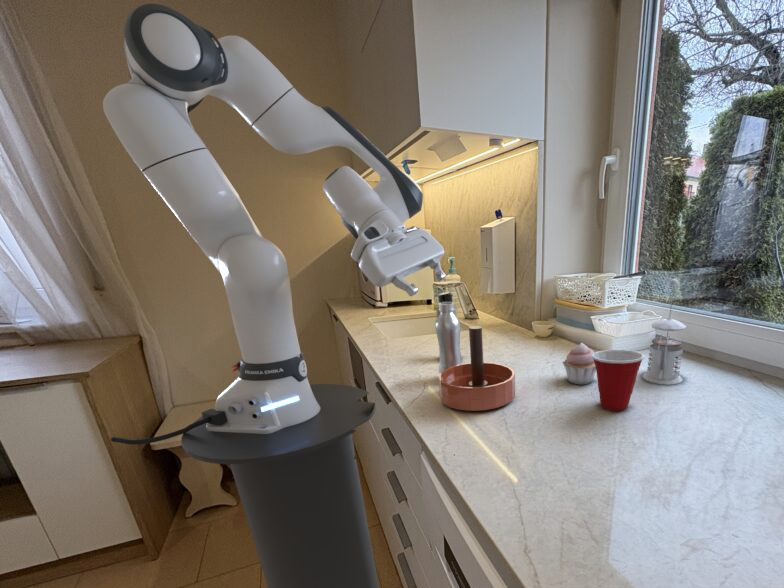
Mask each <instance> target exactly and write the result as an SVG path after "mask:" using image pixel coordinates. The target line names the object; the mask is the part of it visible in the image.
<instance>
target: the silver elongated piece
mask: <svg viewBox="0 0 784 588" xmlns="http://www.w3.org/2000/svg"><path fill="white" fill-rule="evenodd" d="M454 308H455V304H454V302H453V301H452V302H442V303H439V302H438V309H439V311H440V315H439V316H438V318H437V317H436V319H435V322H434V330H435V335H436V337H437V343H438V350H439V362H438V363H439V364H438V373H439V374H440V373H441V372H442V371H443V370H445V369H447V368H449V367H452V366H456V365H460V364H464V363H463V361H462V359H463V358H462V353H461V327H462V324H461V320H460V319H459V317H458V316H456V315H455V314H454V312H453V311H454V310H455V309H456V308H455V309H454ZM439 374H438V375H439Z"/></svg>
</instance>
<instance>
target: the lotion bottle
mask: <svg viewBox="0 0 784 588" xmlns="http://www.w3.org/2000/svg"><path fill="white" fill-rule="evenodd" d="M442 302H453V294H452V292H451V291H445V292H443V291H442V292H440V293H438V304H439V303H442ZM454 309H455V310H454V311H453V312H454V314H455V315H456V316H457V315H458V314H457V308H455V307H454ZM439 315H440V311H439V308H437V309H436V319H437V318H438V316H439ZM457 317H458V316H457Z"/></svg>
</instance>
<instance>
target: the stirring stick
mask: <svg viewBox="0 0 784 588" xmlns="http://www.w3.org/2000/svg"><path fill="white" fill-rule="evenodd" d="M468 335H469V336H468V337H469V350H470V351H469V353H470V363H471V373H472V381H470V382H469V387H484V386H488V382H487V381H485V380H484V366H483V362H484V347H483V345H484V344H483V343H484V342H483V327H482V326H480V325H472V326H469V327H468Z"/></svg>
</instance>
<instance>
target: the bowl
mask: <svg viewBox="0 0 784 588" xmlns="http://www.w3.org/2000/svg"><path fill="white" fill-rule="evenodd" d="M483 366H484V380H485V381H487V382H488V386H484V387H469V382H470V381H472V373H471V362H467V363H463V364H460V365H456V366H452V367H449V368H447V369H445V370H443V371H442V372H441V373H440V374H438V379H437V380H438V389H439V399H440V401H441V403H442V404H444V405H445V406H446V407H448V408H452V409H455V410H458V411H468V412H481V411H489V410H494V409H497V408H500V407H503V406H505V405H507V404H509V403H511V402H513V400H514V399H515V397H516V373H515V370H514V369H512V368H511V367H510V366H507V365H504V364H501V363H496V362H488V361H487V362H484V361H483Z"/></svg>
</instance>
